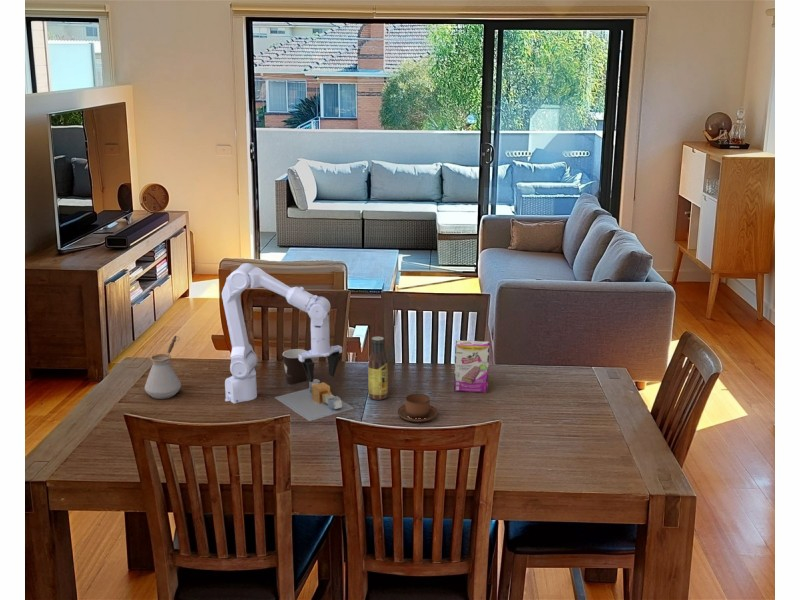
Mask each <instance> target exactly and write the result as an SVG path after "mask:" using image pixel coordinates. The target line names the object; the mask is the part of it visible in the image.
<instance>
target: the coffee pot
mask: <svg viewBox="0 0 800 600" xmlns="http://www.w3.org/2000/svg"><path fill="white" fill-rule="evenodd" d="M172 338H173V339H172V340H171V343H170V344H169V347H168V350H167V352H166V353H158V354H153V355H151V356H150V357H149V360H150V361H151V362H152V365H151V368H150V371H149V373H148V376H147V380H146V382H145V385H144V391H145V392H146V394H147V395H149V396H151V397H152V398H153V399H156V400H157V399H158V400H165V399H170V398H172V397H175V395H176V394H177V393H178V392H179V391H180V390H181V388H182V383H181V381H180V378H179V377H178V375H177V374H176V372H175V370H174V368H173V366H172V365H171V363H170V361H171V360H172V356H171V355H170V353H171V352H172V350H173V348H174V346H175V343H176V341H178V340H180V339H181V338H180V337H179V336H177V335H174V336H173V337H172ZM177 338H178V339H177Z"/></svg>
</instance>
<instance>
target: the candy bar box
mask: <svg viewBox="0 0 800 600" xmlns="http://www.w3.org/2000/svg"><path fill="white" fill-rule="evenodd" d="M490 348H491V347H490V341H482V340H481V341H480V340H458V339H457V340H456V339H455V347H454V371H453V372H454V374H453V391H454V392H461V393H462V392H465V393H481V394H482V393H483V394H484V393H485V394H487V393H488V391H489V388H488V387H489V370H490V369H489V368H490V364H489V363H490Z"/></svg>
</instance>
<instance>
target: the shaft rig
mask: <svg viewBox="0 0 800 600" xmlns="http://www.w3.org/2000/svg"><path fill="white" fill-rule="evenodd" d="M308 383H309V384H308V385H309V388H310V393H311V392H312V395H313V386H312V385H315V384H318V383H321V381H320V379H318V378H316V379H315V378H313V382H310V381H308ZM322 398H323V403H327V404H328V409H330V410H331V411H333V410H336V409H340V408H341V407H342V401H343V400H341V397H339V396H338V395H336V396H335V395H333V394H332V392H331V391H330V392H328V393H325V394H322Z"/></svg>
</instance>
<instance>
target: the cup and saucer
mask: <svg viewBox="0 0 800 600" xmlns="http://www.w3.org/2000/svg"><path fill="white" fill-rule="evenodd" d="M430 398H431V397H430V396H428V395H427V394H424V393H410V394H408V395H407V396H405V404H404V405H402V406H400V407H399V408H397V409H398V410H397V413H398V416H399V417H400V418H401V419H403V420H406V421H409V422H416V423H417V422H418V423H422V422H427V421H430V420H432V419H434V418H435V417H436V416H437V414H438V409H437V408H436V407H434V406H433V405H432V404H431V405H430V402H431V401H430ZM407 416H409V417H410V418H412V419H409V418H408V417H407ZM415 418H417V419H415ZM418 418H421V419H418ZM424 418H426V419H424Z"/></svg>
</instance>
